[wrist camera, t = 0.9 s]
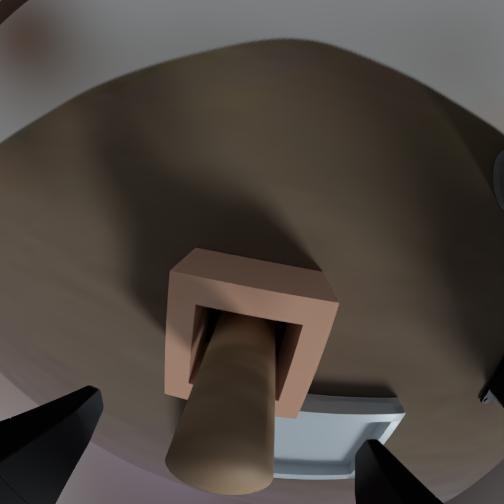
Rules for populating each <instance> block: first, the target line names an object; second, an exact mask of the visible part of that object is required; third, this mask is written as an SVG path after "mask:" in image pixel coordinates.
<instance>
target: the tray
mask: <svg viewBox="0 0 504 504" xmlns="http://www.w3.org/2000/svg"><path fill="white" fill-rule="evenodd" d="M405 414H406V413H405V411H404V409H403V407H402V405H401V403H400V401H399V399H398V398H369V397H344V396H328V395H316V394H307V395H306V397H305V400H304V402H303V404H302V407H301V409H300V411H299V414H298V416H297V418H296V419H292V418H283V417H275V439H274V476H273V477H274V478H288V479H349V478H355V454H356V452H357V451H358V449H359V448H360V447H361V445H362V444H363V442H364V441H365V440H367V439H377V440H379V441H380V442H381V443H382V444H384V443H385V442H386V441H387V439H388V438H389V437H390V435H391V434H392V432H393V431H394V430H395V428H396V427H397V425H398V424H399V423H400V421H401V420H402V418H403V417H404V415H405Z"/></svg>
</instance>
